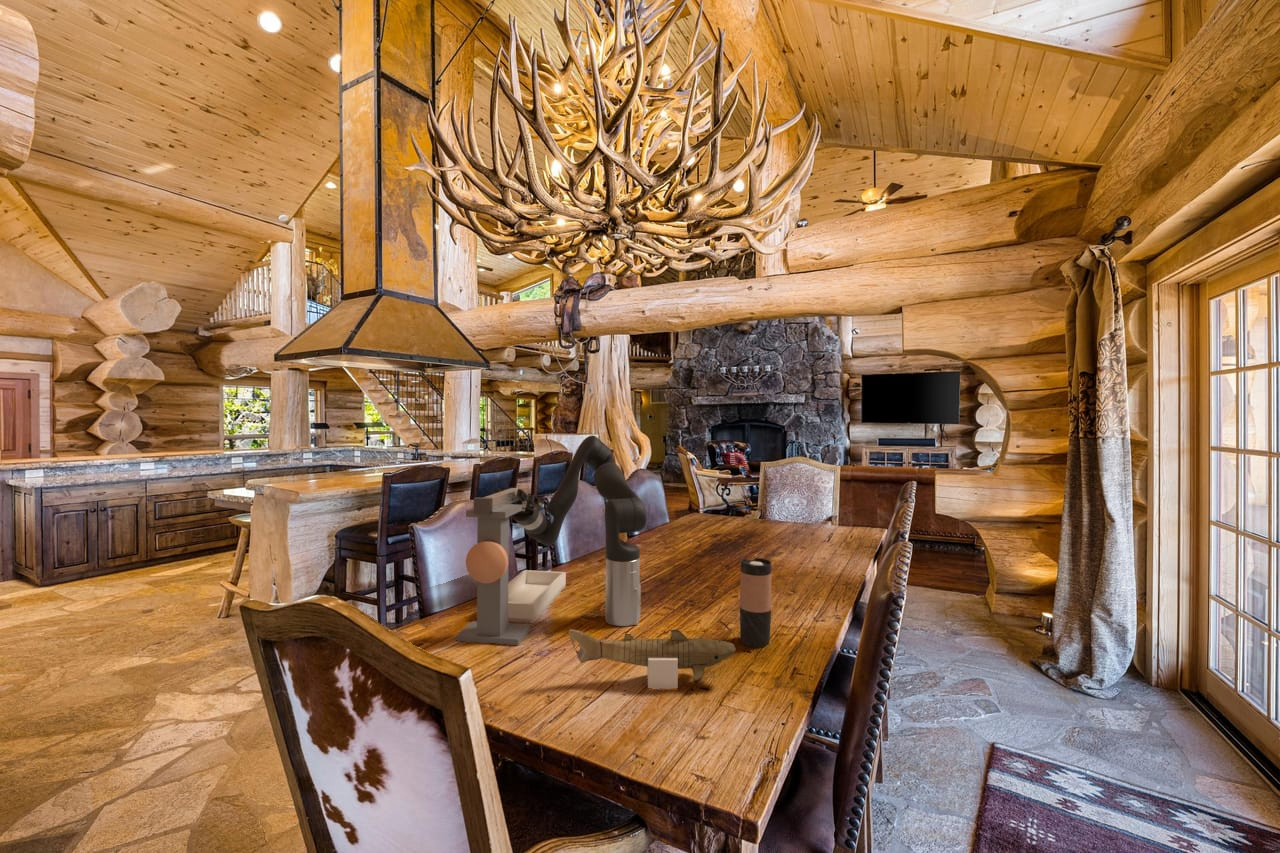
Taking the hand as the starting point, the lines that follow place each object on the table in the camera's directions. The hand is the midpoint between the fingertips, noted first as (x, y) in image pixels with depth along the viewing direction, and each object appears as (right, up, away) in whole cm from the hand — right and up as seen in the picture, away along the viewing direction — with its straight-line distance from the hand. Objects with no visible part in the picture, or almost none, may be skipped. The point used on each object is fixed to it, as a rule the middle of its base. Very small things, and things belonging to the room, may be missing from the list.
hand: (508, 491), depth 140 cm
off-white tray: (+2, -35, +17) cm, 39 cm away
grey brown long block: (-1, -3, -5) cm, 6 cm away
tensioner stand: (-1, -35, -7) cm, 36 cm away
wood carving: (+38, -36, -30) cm, 60 cm away
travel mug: (+64, -36, -9) cm, 74 cm away
